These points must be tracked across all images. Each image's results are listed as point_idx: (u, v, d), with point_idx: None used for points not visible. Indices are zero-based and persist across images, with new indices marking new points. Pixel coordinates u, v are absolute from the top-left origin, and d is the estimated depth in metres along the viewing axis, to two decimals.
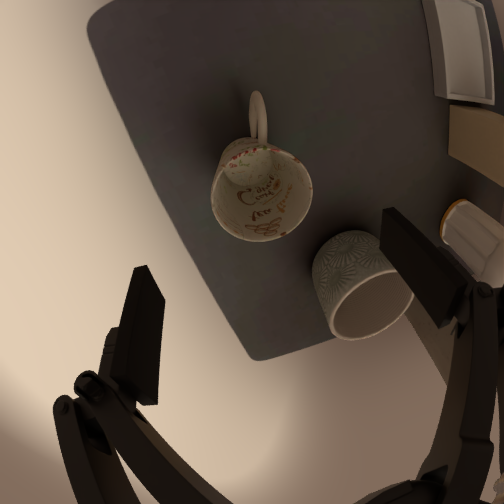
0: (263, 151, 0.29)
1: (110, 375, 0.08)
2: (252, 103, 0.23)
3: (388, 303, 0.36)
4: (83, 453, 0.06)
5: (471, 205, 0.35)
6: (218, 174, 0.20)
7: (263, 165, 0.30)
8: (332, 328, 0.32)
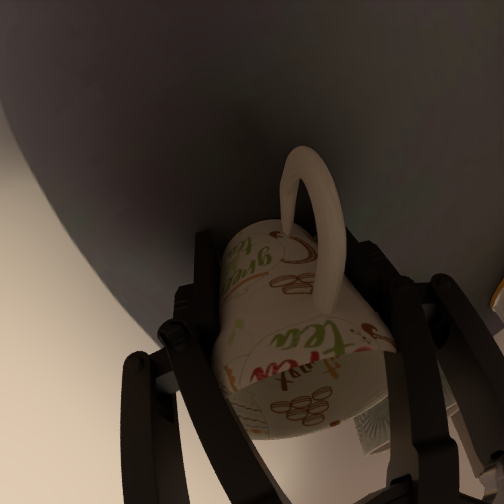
0: None
1: (194, 323, 0.10)
2: (294, 175, 0.10)
3: None
4: (147, 418, 0.07)
5: None
6: None
7: None
8: (367, 455, 0.20)
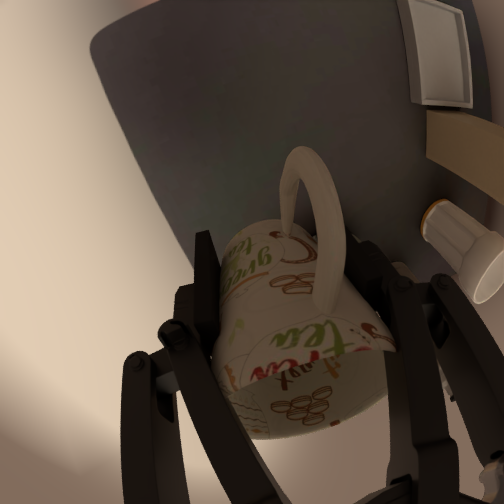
0: None
1: (194, 323, 0.10)
2: (294, 175, 0.10)
3: None
4: (147, 418, 0.07)
5: (451, 205, 0.39)
6: None
7: None
8: None
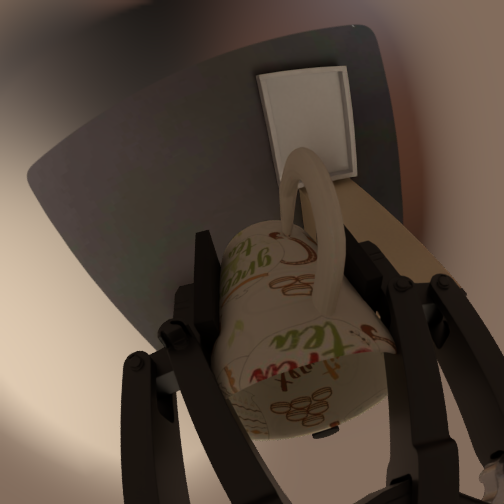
0: None
1: (194, 323, 0.10)
2: (294, 176, 0.10)
3: None
4: (147, 418, 0.07)
5: None
6: None
7: None
8: None
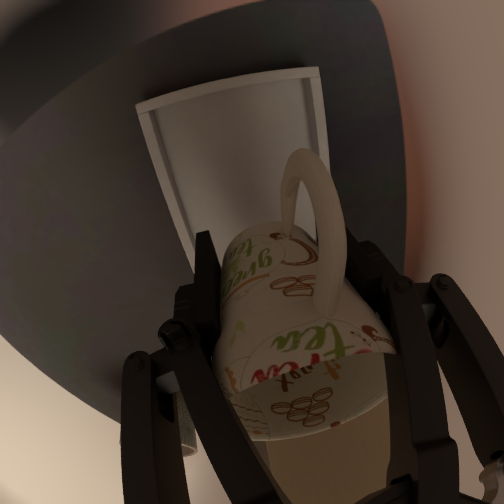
0: None
1: (195, 323, 0.10)
2: (295, 177, 0.10)
3: None
4: (147, 418, 0.07)
5: None
6: None
7: None
8: None
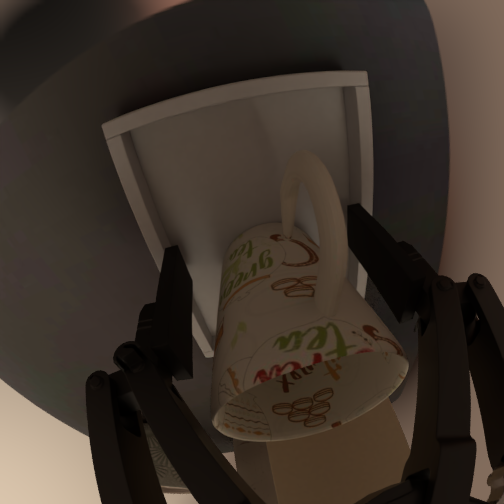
0: None
1: (151, 346, 0.09)
2: (295, 178, 0.10)
3: None
4: (113, 433, 0.07)
5: None
6: (225, 400, 0.08)
7: None
8: None
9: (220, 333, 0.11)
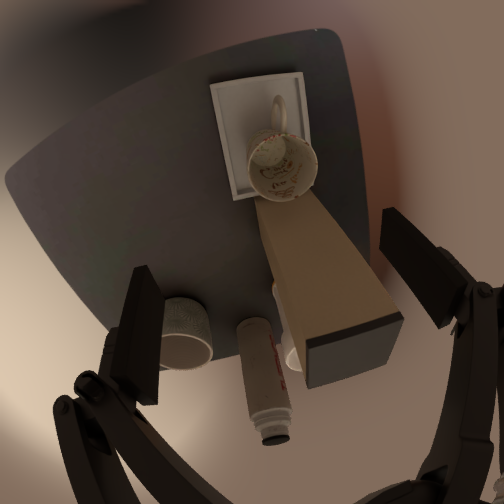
0: (279, 140, 0.38)
1: (110, 375, 0.08)
2: (275, 103, 0.31)
3: (205, 349, 0.52)
4: (83, 453, 0.06)
5: None
6: (254, 150, 0.29)
7: (279, 151, 0.39)
8: None
9: (250, 147, 0.32)
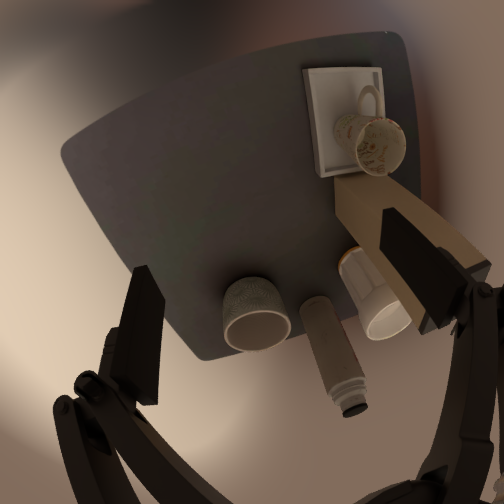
0: None
1: (110, 375, 0.08)
2: (365, 92, 0.32)
3: (279, 328, 0.54)
4: (83, 453, 0.06)
5: None
6: (362, 129, 0.30)
7: (359, 134, 0.40)
8: (228, 343, 0.50)
9: (350, 127, 0.33)
